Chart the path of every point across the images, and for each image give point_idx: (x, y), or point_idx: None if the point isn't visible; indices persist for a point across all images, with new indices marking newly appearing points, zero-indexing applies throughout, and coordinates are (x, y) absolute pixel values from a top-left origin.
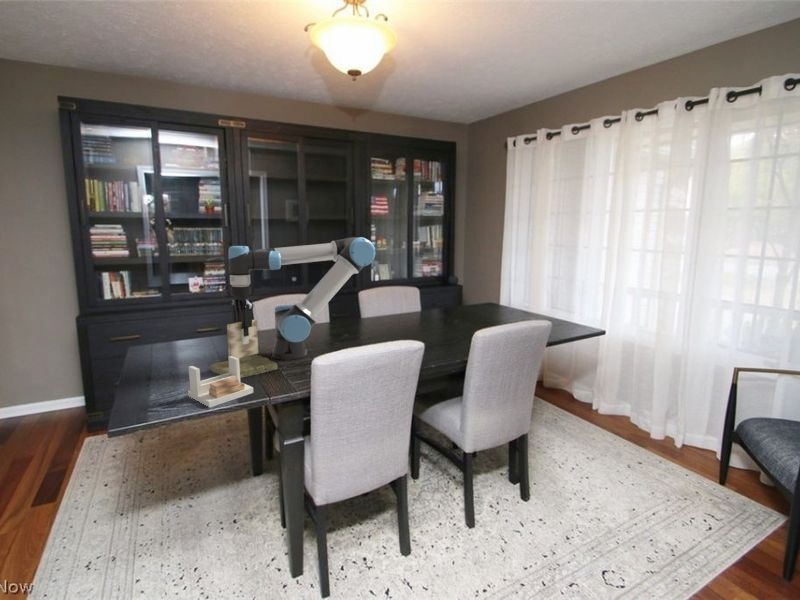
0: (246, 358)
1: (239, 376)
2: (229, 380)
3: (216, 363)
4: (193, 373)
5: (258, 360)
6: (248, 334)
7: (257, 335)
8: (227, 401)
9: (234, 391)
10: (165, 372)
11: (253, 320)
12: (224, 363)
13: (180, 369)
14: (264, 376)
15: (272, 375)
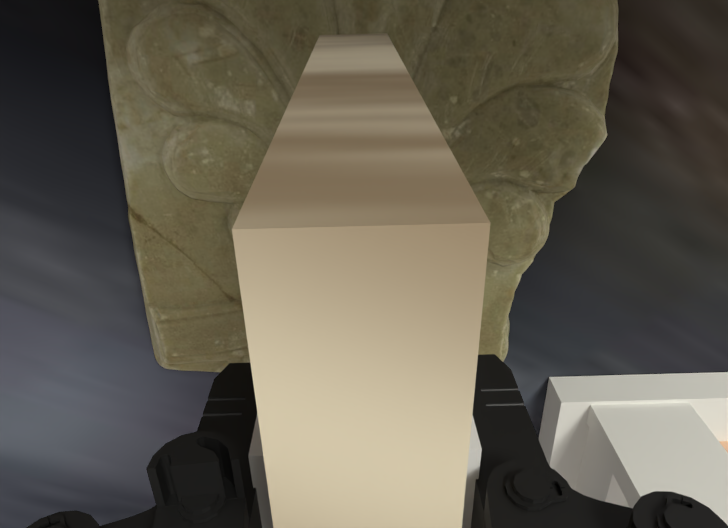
0: (222, 88)
1: (713, 440)
2: None
3: (179, 348)
4: None
5: (401, 41)
6: (509, 375)
7: (413, 82)
8: None
9: None
10: (20, 516)
11: (392, 339)
12: (229, 309)
13: (8, 451)
14: (654, 153)
15: (703, 90)
